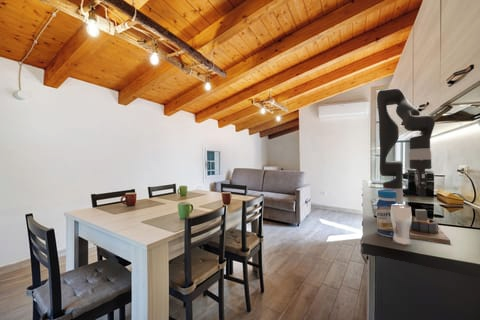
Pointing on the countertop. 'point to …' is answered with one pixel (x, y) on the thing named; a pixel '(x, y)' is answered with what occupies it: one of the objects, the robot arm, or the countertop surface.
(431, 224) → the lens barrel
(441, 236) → the wooden cutting board
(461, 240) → the countertop surface
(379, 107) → the robot arm
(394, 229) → the beer glass
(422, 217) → the orange rounded block
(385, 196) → the blue and white bottle
